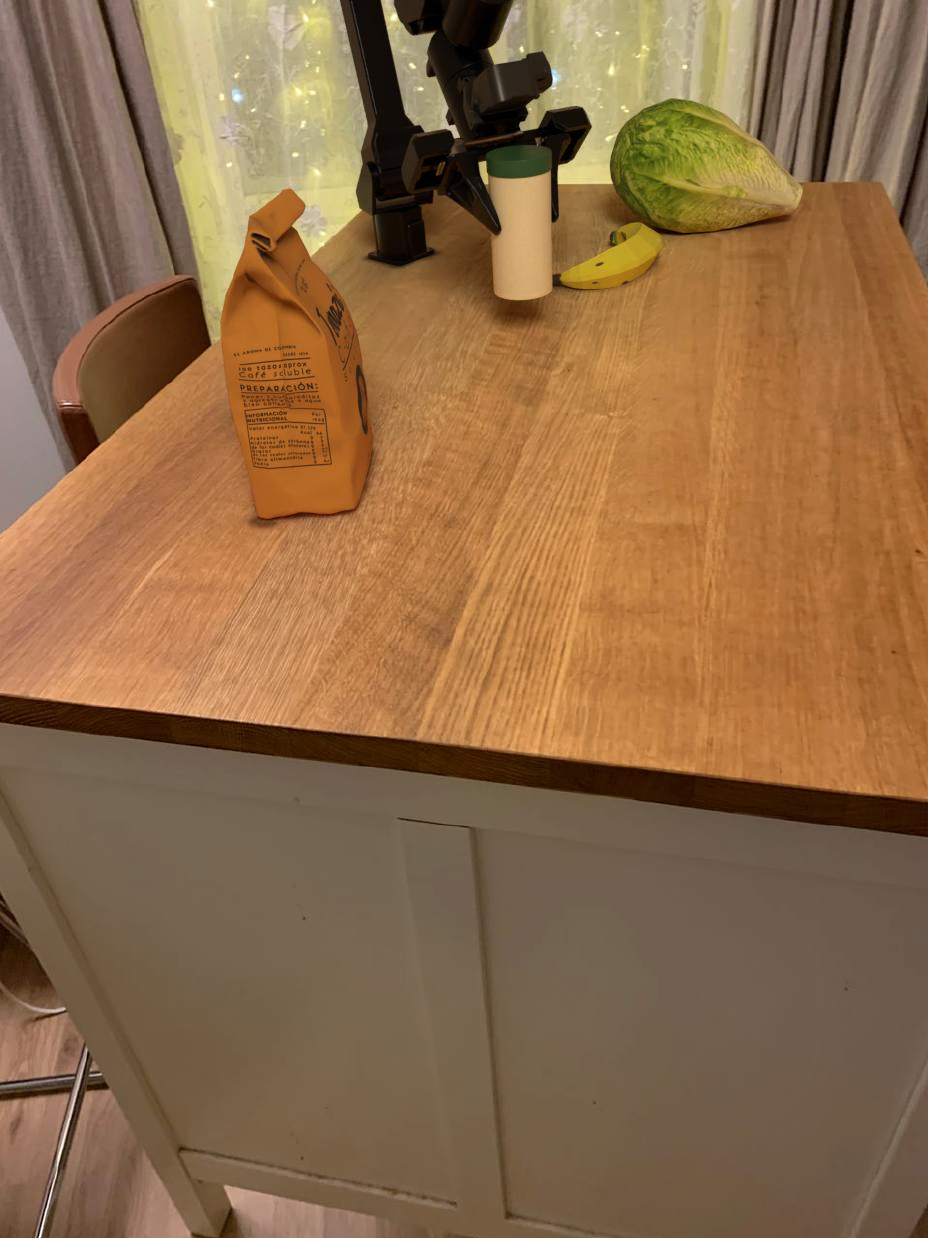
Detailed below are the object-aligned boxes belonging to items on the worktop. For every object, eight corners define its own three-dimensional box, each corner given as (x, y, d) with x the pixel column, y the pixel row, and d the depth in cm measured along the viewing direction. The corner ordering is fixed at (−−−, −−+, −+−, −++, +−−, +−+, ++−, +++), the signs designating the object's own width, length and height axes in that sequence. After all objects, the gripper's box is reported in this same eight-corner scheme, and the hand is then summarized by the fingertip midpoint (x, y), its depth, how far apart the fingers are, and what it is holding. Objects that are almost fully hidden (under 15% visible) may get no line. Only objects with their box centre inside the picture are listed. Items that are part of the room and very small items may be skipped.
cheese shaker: (482, 296, 99) (474, 159, 91) (509, 276, 103) (503, 143, 95) (537, 303, 96) (534, 162, 89) (563, 282, 101) (562, 146, 93)
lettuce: (774, 235, 135) (776, 284, 124) (602, 182, 135) (588, 226, 124) (824, 123, 125) (832, 166, 113) (638, 66, 125) (627, 103, 113)
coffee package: (393, 449, 84) (358, 179, 71) (363, 527, 75) (315, 229, 61) (283, 450, 86) (228, 185, 73) (239, 525, 76) (165, 235, 63)
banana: (656, 207, 122) (537, 233, 125) (665, 240, 108) (531, 268, 111) (660, 244, 124) (544, 268, 127) (670, 282, 110) (538, 307, 113)
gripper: (399, 35, 86) (462, 194, 84) (582, 9, 91) (644, 157, 90) (377, 120, 96) (433, 262, 95) (543, 91, 102) (597, 225, 101)
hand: (527, 226), depth 95 cm, fingers closed on cheese shaker, 6 cm apart
